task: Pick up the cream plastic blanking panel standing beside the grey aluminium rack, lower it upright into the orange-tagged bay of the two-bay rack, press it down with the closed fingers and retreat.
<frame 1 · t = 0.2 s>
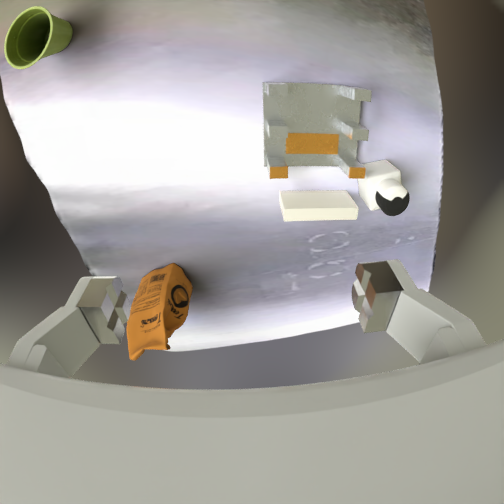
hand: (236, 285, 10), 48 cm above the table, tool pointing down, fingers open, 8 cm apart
medicine bottle: (372, 177, 57), on the table
plant pot: (59, 37, 37), on the table
panel rack: (311, 124, 51), on the table
blanking panel: (313, 195, 60), on the table
coffee package: (167, 280, 72), on the table
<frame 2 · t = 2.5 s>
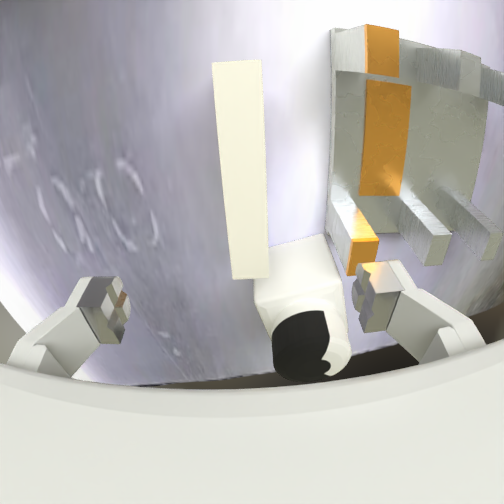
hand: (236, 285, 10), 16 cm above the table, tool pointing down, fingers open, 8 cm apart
medicine bottle: (295, 267, 31), on the table
panel rack: (413, 139, 22), on the table
blanking panel: (245, 147, 23), on the table
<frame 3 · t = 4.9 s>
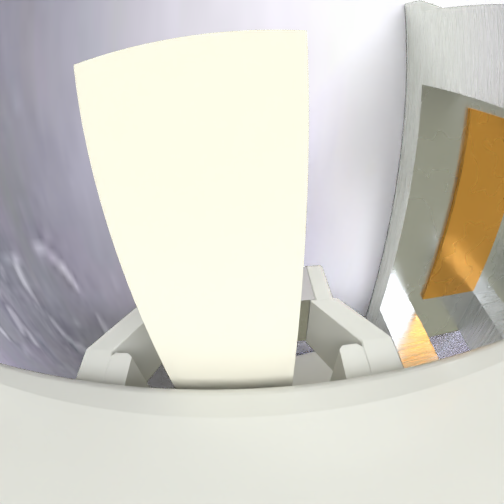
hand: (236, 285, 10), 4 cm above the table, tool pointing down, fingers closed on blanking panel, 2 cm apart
medicine bottle: (311, 374, 20), on the table
panel rack: (503, 205, 12), on the table
blanking panel: (238, 229, 13), on the table, touching gripper
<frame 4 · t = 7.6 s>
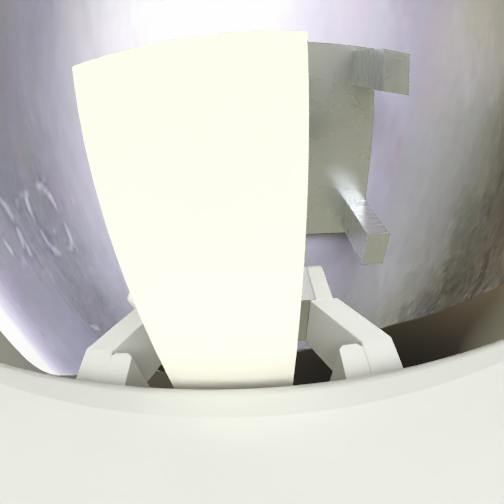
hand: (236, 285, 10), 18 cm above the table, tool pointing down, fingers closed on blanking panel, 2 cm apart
panel rack: (281, 141, 25), on the table
blanking panel: (238, 229, 13), point 15 cm above the table, touching gripper
when the fingers open (6 cm above the table, at t = 10.5 s): blanking panel drops 1 cm, resting on panel rack.
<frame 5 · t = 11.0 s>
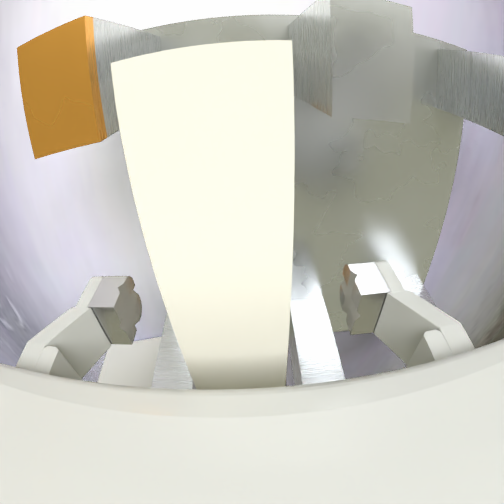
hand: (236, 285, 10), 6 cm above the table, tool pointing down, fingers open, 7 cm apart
medicine bottle: (165, 361, 23), on the table
panel rack: (307, 200, 15), on the table
blanking panel: (238, 217, 14), point 1 cm above the table, touching panel rack
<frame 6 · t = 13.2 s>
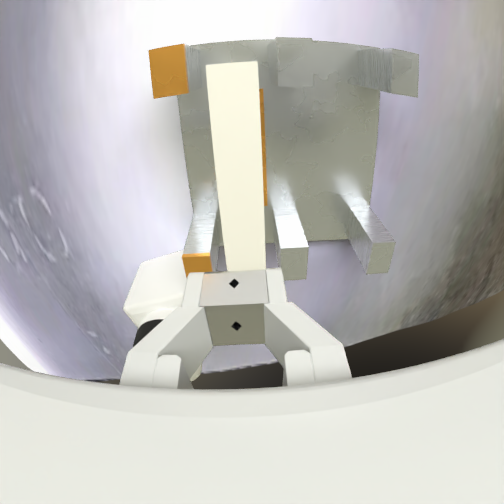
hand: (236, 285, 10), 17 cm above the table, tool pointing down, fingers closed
medicine bottle: (183, 276, 32), on the table
panel rack: (282, 144, 24), on the table
blanking panel: (241, 151, 23), point 1 cm above the table, touching panel rack
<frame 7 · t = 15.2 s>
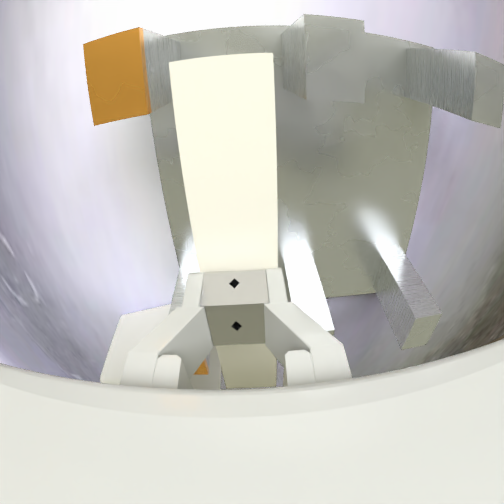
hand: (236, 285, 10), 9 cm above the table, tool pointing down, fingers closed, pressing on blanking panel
medicine bottle: (172, 331, 26), on the table
panel rack: (298, 176, 18), on the table
blanking panel: (241, 188, 16), point 1 cm above the table, touching gripper, panel rack
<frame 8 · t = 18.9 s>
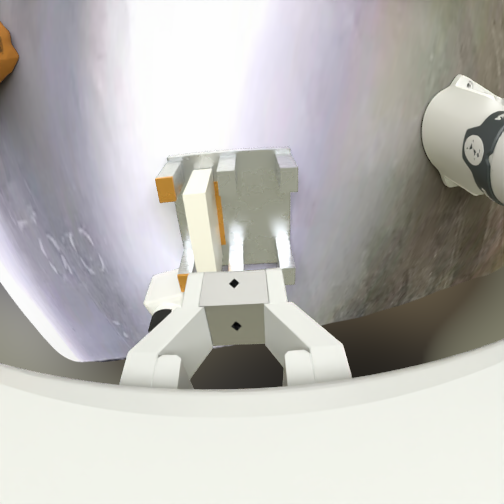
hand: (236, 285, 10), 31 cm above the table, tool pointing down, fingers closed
medicine bottle: (179, 284, 51), on the table
panel rack: (233, 209, 43), on the table
blanking panel: (208, 215, 42), point 1 cm above the table, touching panel rack
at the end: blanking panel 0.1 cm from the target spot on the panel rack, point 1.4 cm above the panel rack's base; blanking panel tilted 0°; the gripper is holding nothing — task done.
